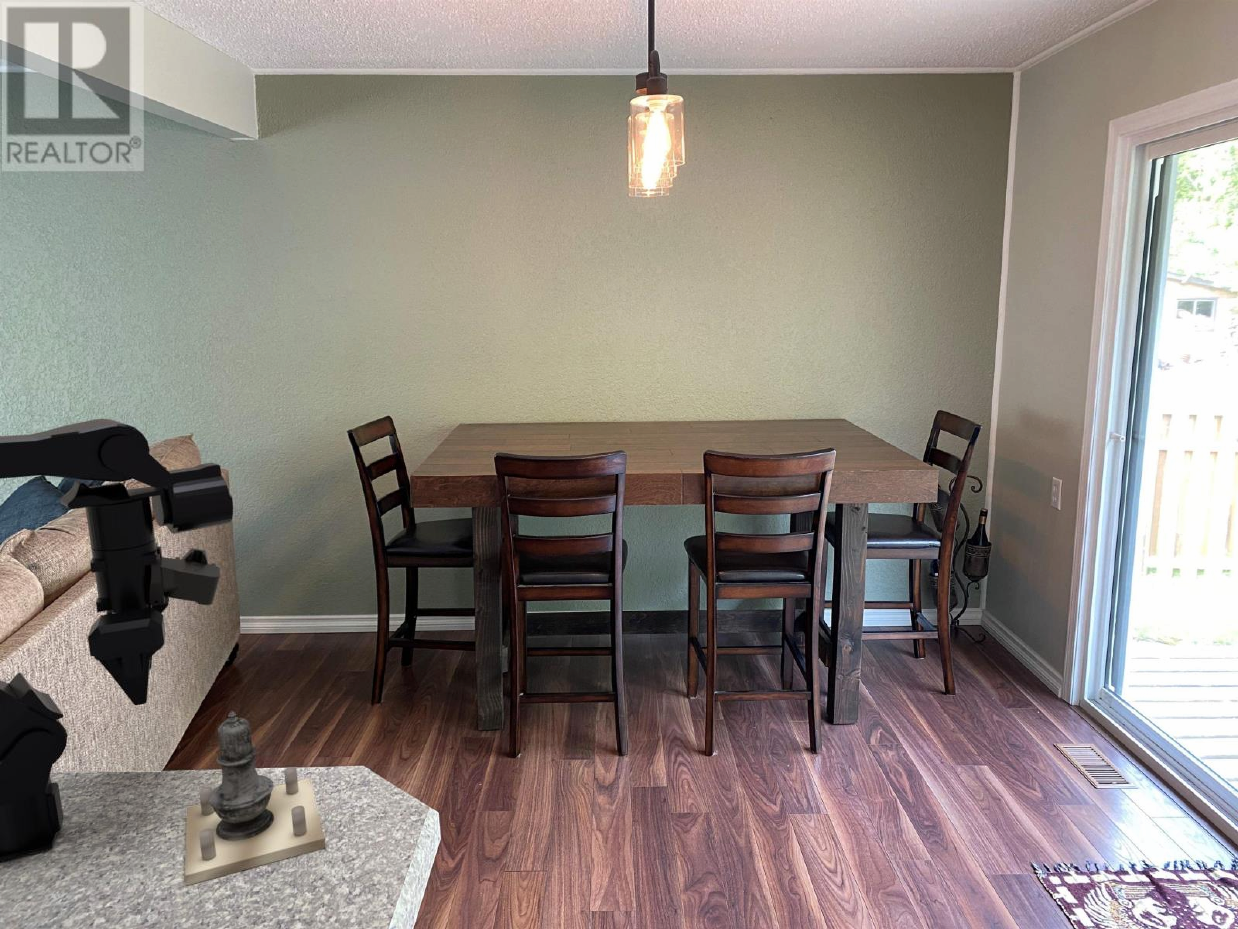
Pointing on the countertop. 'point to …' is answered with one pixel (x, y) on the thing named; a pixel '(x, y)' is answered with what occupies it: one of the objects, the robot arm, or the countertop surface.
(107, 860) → the countertop surface
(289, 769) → the pin board
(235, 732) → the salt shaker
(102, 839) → the countertop surface
